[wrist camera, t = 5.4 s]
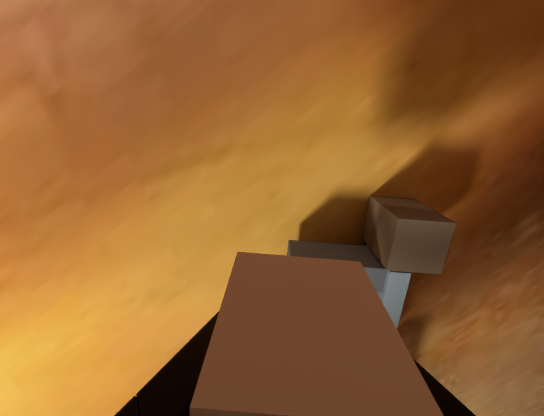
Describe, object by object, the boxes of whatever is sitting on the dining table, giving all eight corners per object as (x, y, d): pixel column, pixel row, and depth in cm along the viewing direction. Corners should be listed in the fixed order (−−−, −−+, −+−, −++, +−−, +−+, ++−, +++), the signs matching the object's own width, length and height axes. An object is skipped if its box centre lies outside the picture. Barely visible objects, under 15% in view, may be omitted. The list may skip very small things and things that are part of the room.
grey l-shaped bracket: (360, 351, 22) (378, 399, 18) (277, 345, 22) (277, 392, 18) (384, 243, 19) (411, 273, 15) (288, 235, 19) (291, 264, 15)
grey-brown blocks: (362, 414, 24) (380, 477, 20) (329, 412, 24) (340, 474, 20) (414, 199, 18) (456, 223, 14) (370, 195, 18) (398, 218, 14)
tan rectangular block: (341, 355, 10) (393, 564, 5) (233, 347, 10) (194, 547, 6) (360, 261, 9) (450, 428, 4) (237, 251, 9) (189, 407, 4)
